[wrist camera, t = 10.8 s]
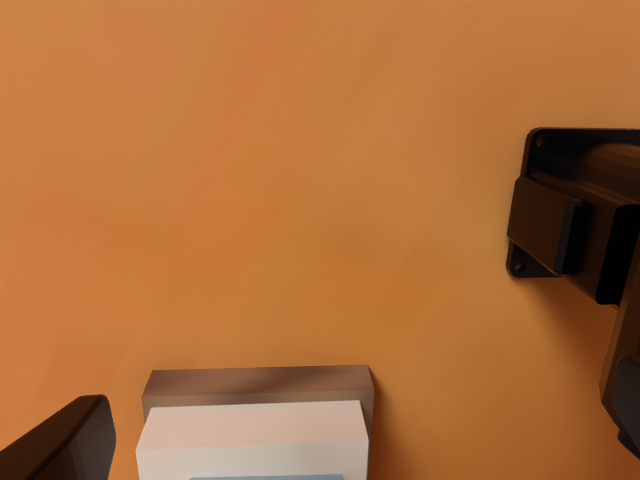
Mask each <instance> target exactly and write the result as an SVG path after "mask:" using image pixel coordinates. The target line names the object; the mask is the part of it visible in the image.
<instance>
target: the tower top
mask: <svg viewBox="0 0 640 480" xmlns="http://www.w3.org/2000/svg"><path fill="white" fill-rule="evenodd" d="M368 444H369V440H368V435H367V431H366V427H365V423H364V418H363V414H362V410H361V406H360V401H359V400H352V401H324V402H296V403H268V404H239V405H212V406H184V407H156V408H151V410H150V413H149V415H148V418H147V421H146V423H145V426H144V429H143V431H142V434H141V437H140V440H139V442H138V445H137V448H136V457H137V464H138V472H139V479H140V480H190V478H209V477H249V476H289V475H329V474H341V477H342V480H366V477H367V460H368Z"/></svg>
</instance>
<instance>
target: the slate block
mask: <svg viewBox="0 0 640 480" xmlns="http://www.w3.org/2000/svg"><path fill="white" fill-rule="evenodd" d="M190 480H342V477H341V474H329V475H289V476H249V477H209V478H190Z"/></svg>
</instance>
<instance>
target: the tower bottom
mask: <svg viewBox="0 0 640 480" xmlns="http://www.w3.org/2000/svg"><path fill="white" fill-rule="evenodd" d="M374 391H375V390H374V386H373V383H372V379H371V376H370V372H369V369H368V365H341V366H303V367H265V368H227V369H190V370H152V373H151V375H150V378H149V380H148V383H147V385H146V387H145V390H144V392H143V395H142V403H143V412H144V420H145V423H146V421H147V418H148V415H149V413H150V410H151V408H156V407H184V406H212V405H239V404H268V403H296V402H324V401H352V400H359V401H360V406H361V410H362V414H363V418H364V423H365V427H366V431H367V435H368V440H369V444H368V460H367V477H366V480H368V477H369V462H370V448H371V434H372V419H373V405H374Z"/></svg>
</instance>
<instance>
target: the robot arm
mask: <svg viewBox="0 0 640 480" xmlns="http://www.w3.org/2000/svg"><path fill="white" fill-rule="evenodd" d="M540 135H543V136H544V141H543V143H542V144H541V145H539V146H538V145H537V142H536V141H537V138H538V137H539V136H540ZM507 236H508V237H509V238H510V242H509V248H508V255H507V261H506V268H507V270H508V272H509V273H511V274H512V275H513V276H514V277H518V278H538V277H564V278H565V279H566V280H568V281H569V282H570V283H572V284H573V285H574V286H575V287H577V288H578V289H579V290H581V291H582V292H583V293H585V294H586V295H587V296H589V297H590V298H591V299H592V300H594V301H595V302H596V303H598V304H601V305H611V306H612V307H614V308H615V309H616V310H618V314H617V318H616V322H615V326H614V330H613V334H612V337H611V341H610V345H609V349H608V353H607V356H606V357H605V361H604V365H603V372H602V376H601V380H600V383H599V386H600V395H601V402H602V404H603V406H604V407H605V409H606V410H607V412H608V413H609V415H610V416H611V418H612V420H613V421H614V423H615V424H616V425H617V426H618V428H619V431H618V440H619V441H620V442H621V444H622V445H623V446H624V447H625V448H626V449H627V450H628V451H630V452H631V453H632V454H633V455H634V456H635V457H636V458H638V459H639V460H640V129H624V128H556V127H539V128H535V129H533V130H531V131H530V133H529V134H528V135H527V138H526V143H525V149H524V155H523V161H522V168H521V174H520V177H519V178H518V179H517V180H516V181H515V186H514V193H513V199H512V205H511V212H510V218H509V224H508V231H507ZM519 262H522V266H521V267H520V268H518V269H515V267H516V264H518V263H519ZM115 447H116V432H115V427H114V423H113V418H112V414H111V409H110V404H109V401H108V399H107V397H106V396H105V395H103V394H99V395H85V396H80V397H78V398H76V399H75V400H74V401H72V402H71V403H69V404H68V405H66V406H65V407H63V408H62V409H61V410H59V411H58V412H56V413H55V414H53V415H52V416H50V417H49V418H48V419H46V420H45V421H43V422H42V423H40V424H39V425H38V426H36V427H35V428H33V429H32V430H30V431H29V432H27V433H26V434H25V435H23V436H22V437H20V438H19V439H17V440H16V441H14V442H13V443H12V444H10V445H9V446H7V447H6V448H4V449H3V450H1V451H0V480H108V476H109V472H110V468H111V464H112V459H113V455H114V451H115Z"/></svg>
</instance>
